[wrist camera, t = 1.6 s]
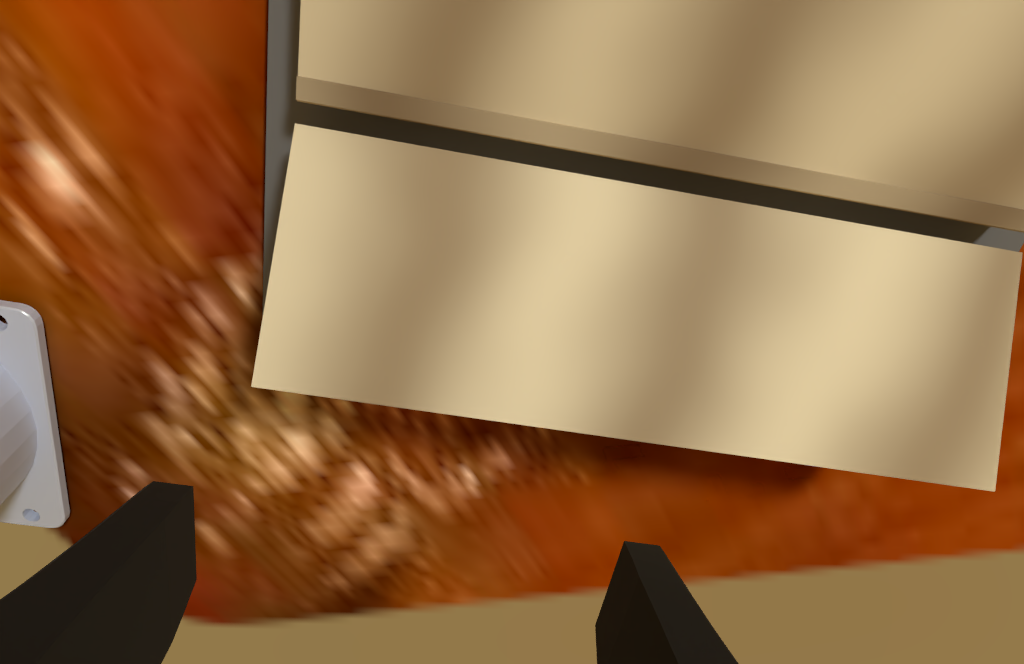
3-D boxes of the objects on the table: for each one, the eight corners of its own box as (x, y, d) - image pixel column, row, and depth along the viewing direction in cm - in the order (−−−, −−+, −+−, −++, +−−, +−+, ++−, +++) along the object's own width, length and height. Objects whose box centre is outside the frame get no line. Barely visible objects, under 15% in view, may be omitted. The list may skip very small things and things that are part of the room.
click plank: (264, 384, 17) (250, 387, 16) (304, 139, 17) (294, 123, 16) (958, 482, 19) (994, 491, 17) (984, 259, 19) (1022, 252, 18)
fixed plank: (309, 92, 17) (295, 102, 16) (324, -216, 14) (308, -231, 13) (999, 218, 19) (1032, 235, 17) (1131, -34, 16) (1181, -34, 15)
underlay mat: (264, 364, 21) (261, 369, 20) (280, -354, 13) (276, -361, 13) (898, 455, 23) (903, 461, 22) (1214, -127, 15) (1227, -129, 15)
